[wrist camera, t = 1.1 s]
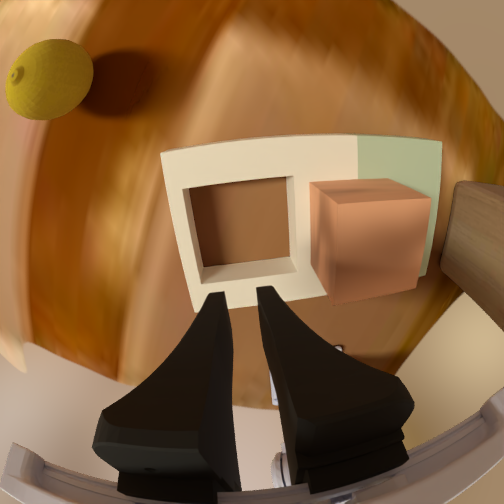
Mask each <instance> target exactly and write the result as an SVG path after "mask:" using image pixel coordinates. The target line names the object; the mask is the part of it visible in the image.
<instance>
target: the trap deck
mask: <svg viewBox="0 0 504 504" xmlns="http://www.w3.org/2000/svg"><path fill="white" fill-rule="evenodd" d="M160 155H161V161H162V167H163V173H164V179H165V184H166V190H167V195H168V200H169V206H170V211H171V216H172V220H173V225H174V230H175V234H176V239H177V243H178V248H179V252H180V256H181V261H182V265H183V269H184V273H185V277H186V281H187V285H188V289H189V293H190V296H191V300H192V304H193V308H194V311H195V312H199V311H200V309H201V307H202V305H203V303H204V301H205V299H206V297H207V295H208V294H209V293H212V292H221V291H225V296H226V302H227V307H228V309H231V308H240V307H248V306H256V305H258V302H257V293H256V287H261V286H269V285H272V286H273V287H274V288H275V290H276V291H277V293H278V294H279V295H280V297H281V298H282V299H283V301H284V302H285V301H292V300H298V299H305V298H311V297H317V296H323V295H327V294H326V292H325V290H324V288H323V286H322V284H321V282H320V281H319V279H318V277H317V275H316V273H315V272H314V270H313V268H312V266H311V264H310V260H311V243H310V192H309V182H317V181H333V180H352V179H379V178H389V179H391V180H393V181H396V182H398V183H400V184H402V185H405V186H407V187H409V188H411V189H413V190H416V191H418V192H420V193H422V194H424V195H426V196H428V197H430V198H431V207H430V216H429V223H428V230H427V236H426V242H425V248H424V253H423V258H422V263H421V268H420V272H419V277H420V276H424V275H426V271H427V267H428V262H429V257H430V252H431V247H432V242H433V236H434V230H435V224H436V217H437V210H438V201H439V192H440V180H441V163H442V142H440V141H435V140H430V139H425V138H417V137H406V136H393V135H376V134H297V135H279V136H266V137H254V138H244V139H235V140H227V141H219V142H212V143H205V144H198V145H192V146H186V147H180V148H175V149H170V150H167V151H164V152H162V153H160ZM283 176H286V183H287V200H288V218H289V240H290V257H282V258H274V259H266V260H258V261H250V262H242V263H234V264H226V265H218V266H210V267H203V263H202V258H201V253H200V248H199V243H198V238H197V232H196V227H195V222H194V216H193V210H192V205H191V199H190V193H189V188H192V187H199V186H205V185H213V184H220V183H228V182H236V181H244V180H253V179H262V178H272V177H283Z"/></svg>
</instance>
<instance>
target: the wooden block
mask: <svg viewBox="0 0 504 504" xmlns="http://www.w3.org/2000/svg"><path fill="white" fill-rule="evenodd" d="M440 268H441V270H442V272H444V273H445V274H446V275H447V276H448V277H449V278H450V279H451V280H453V281H454V282H455V283H456V284H457V285H458V286H459V287H460V288H461V289H462V290H463V291H464V292H465V293H466V294H468V295H469V296H470V297H471V298H472V299H473V300H474V301H475V302H476V303H477V304H478V305H479V306H480V307H481V308H482V309H483V310H484V311H485V312H486V313H487V314H488V315H489V316H490V317H491V319H492V320H494V322H495V323H496V324H497V325H498V326H499V327H500V328H501V329H502V330H503V331H504V186H499V185H493V184H486V183H479V182H472V181H461V182H458V183H457V184H456V186H455V189H454V196H453V203H452V209H451V215H450V220H449V226H448V231H447V235H446V240H445V244H444V248H443V252H442V256H441V260H440Z"/></svg>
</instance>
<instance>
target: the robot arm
mask: <svg viewBox="0 0 504 504" xmlns="http://www.w3.org/2000/svg"><path fill="white" fill-rule="evenodd" d="M256 293H257V302H258V312H259V321H260V329H261V335H262V342H263V348H264V351H265V355H266V359H267V362H268V366H269V370H270V381H271V392H272V403H273V405H278V406H279V412H280V418H281V424H282V430H283V436H284V442H283V443H281V448H282V452H279V453H277V454H276V455H275V457H274V459H273V461H272V464H271V475H272V481H273V485H274V488H272V489H263V490H253V491H242V488H241V482H240V475H239V467H238V460H237V451H236V443H235V433H234V422H233V411H232V377H233V338H232V328H231V323H230V317H229V312H228V307H227V302H226V296H225V291H221V292H212V293H209V294H208V295H207V297H206V299H205V301H204V303H203V305H202V307H201V309H200V311H199V313H198V314H197V316H196V318H195V319H194V321H193V323H192V324H191V326H190V328H189V329H188V331H187V332H186V334H185V335H184V336H183V338H182V339H181V341H180V342H179V344H178V345H177V346H176V348H175V349H174V350H173V351H172V353H171V354H170V355H169V356H168V357H167V358H166V360H165V361H164V362H163V363H162V364H161V365H160V366H159V367H158V368H157V369H156V370H155V371H154V372H153V373H152V374H151V375H150V376H149V377H148V378H147V379H146V380H144V381H143V382H142V383H141V384H140V385H138V386H137V387H136V388H135V389H133V390H132V391H131V392H130V393H128V394H127V395H125V396H124V397H122V398H121V399H119V400H118V401H116V402H115V403H113V404H112V405H110V406H109V407H107V408H105V409H104V410H102V413H101V416H100V418H99V421H98V424H97V429H96V432H95V436H94V441H93V445H92V448H93V450H94V452H95V453H96V454H97V455H98V456H99V457H100V458H101V459H103V460H104V461H105V462H107V463H108V464H109V465H111V466H112V467H114V468H115V469H117V470H118V471H119V477H118V483H117V482H112V481H108V480H103V479H99V478H95V477H92V476H88V475H84V474H81V473H78V472H74V471H71V470H68V469H65V468H63V467H60V466H57V465H54V464H52V463H49V462H47V461H44V459H43V458H41V457H40V456H38V455H37V454H36V453H34V452H32V451H30V450H29V449H27V448H25V447H22V446H20V445H18V444H16V443H12V445H11V448H10V451H9V454H8V457H7V461H6V464H5V467H4V471H3V475H2V479H1V483H0V488H1V489H2V490H3V491H4V492H6V493H7V494H9V495H10V496H12V497H14V498H15V499H16V500H18V501H20V502H21V503H23V504H446V503H448V502H449V501H451V500H452V499H454V498H455V497H457V496H458V495H459V494H461V493H462V492H463V491H465V490H466V489H467V488H469V487H470V486H471V485H473V484H474V483H475V482H476V481H478V480H479V479H480V478H481V477H483V476H484V475H485V474H486V473H487V472H488V471H490V470H491V469H492V468H493V467H494V466H495V465H496V464H497V463H498V462H499V461H500V460H501V459H503V457H504V387H503V388H502V389H500V390H499V391H498V392H496V393H495V394H494V395H493V396H492V397H490V398H489V399H488V400H487V401H486V402H485V403H484V405H483V406H482V407H481V408H480V410H479V411H478V412H476V413H475V414H473V415H472V416H470V417H469V418H467V419H466V420H464V421H462V422H461V423H460V424H458V425H456V426H454V427H453V428H451V429H449V430H447V431H445V432H444V433H442V434H440V435H438V436H437V437H434V438H433V439H431V440H429V441H427V442H425V443H423V444H421V445H419V446H417V447H415V448H412V449H410V450H408V451H406V449H405V447H404V444H403V442H402V440H403V439H404V434H403V432H402V429H401V427H402V426H403V425H404V423H405V422H406V421H407V419H408V418H409V416H410V415H411V413H412V411H413V409H414V401H413V399H412V397H411V395H410V393H409V392H408V390H407V388H406V387H405V385H404V384H403V383H402V382H401V380H400V379H399V377H397V376H394V375H391V374H388V373H386V372H383V371H380V370H378V369H375V368H372V367H370V366H368V365H366V364H364V363H362V362H360V361H357V360H356V359H354V358H352V357H350V356H348V355H347V354H345V353H343V352H342V348H341V347H340V346H336V347H334V346H332V345H331V344H329V343H328V342H327V341H325V340H324V339H323V338H321V337H320V336H319V335H317V334H316V333H315V332H314V331H313V330H311V329H310V328H309V327H308V326H307V325H306V324H305V323H304V322H303V321H302V320H301V319H300V318H299V317H298V316H297V315H296V314H295V313H294V312H293V311H292V310H291V309H290V308H289V306H288V305H287V304H286V303H285V302H284V301H283V299H282V298H281V297H280V295H279V294H278V293H277V291H276V290H275V288H274V287H273V286H272V285H269V286H261V287H256Z"/></svg>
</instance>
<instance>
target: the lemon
mask: <svg viewBox="0 0 504 504" xmlns="http://www.w3.org/2000/svg"><path fill="white" fill-rule="evenodd" d="M93 72H94V71H93V63H92V60H91V58H90V56H89V54H88V53H87V52H86V51H85V50H84V48H83V47H81V46H80V45H78V44H76V43H74V42H72V41H69V40H64V39H49V40H45V41H42V42H39V43H36V44H34V45H32V46H31V47H29V48H28V49H26V50H25V51H24V52H23V53H22V54H21V55H20V56H19V57H18V58H17V59H16V61H15V62H14V64H13V65H12V67H11V69H10V71H9V74H8V76H7V80H6V91H5V92H6V98H7V101H8V103H9V105H10V107H11V108H12V109H13V110H14V111H15V112H16V113H17V114H19V115H21V116H23V117H25V118H28V119H32V120H50V119H54V118H57V117H60V116H63V115H65V114H66V113H68V112H70V111H72V110H73V109H74V108H75V107H76V106H77V105H79V104H80V103H81V101H82V100H83V99H84V97H85V96H86V95H87V93H88V91H89V89H90V86H91V83H92V80H93Z"/></svg>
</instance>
